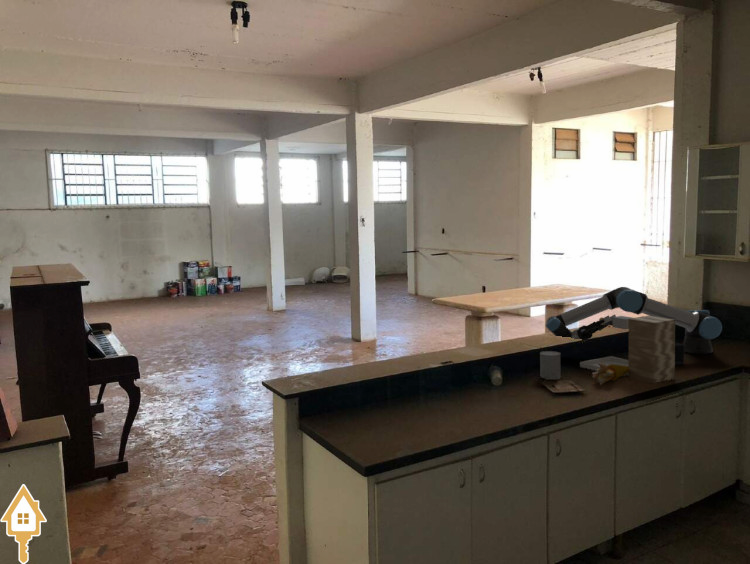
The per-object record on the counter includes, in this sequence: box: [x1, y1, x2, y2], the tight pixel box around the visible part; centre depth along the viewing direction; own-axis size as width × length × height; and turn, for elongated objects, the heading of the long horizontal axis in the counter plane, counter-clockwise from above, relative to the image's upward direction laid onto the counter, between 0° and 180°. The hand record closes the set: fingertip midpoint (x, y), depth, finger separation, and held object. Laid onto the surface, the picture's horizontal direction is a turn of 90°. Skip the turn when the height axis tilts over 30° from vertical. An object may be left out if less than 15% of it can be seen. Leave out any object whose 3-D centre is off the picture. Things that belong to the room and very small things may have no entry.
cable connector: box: [598, 315, 633, 330], centre depth 300 cm, size 6×18×5 cm, turn 26°
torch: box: [591, 362, 629, 385], centre depth 281 cm, size 8×8×25 cm
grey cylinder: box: [539, 350, 562, 380], centre depth 289 cm, size 10×10×12 cm
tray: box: [579, 355, 629, 378], centre depth 302 cm, size 22×25×2 cm
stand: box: [628, 315, 676, 384], centre depth 282 cm, size 14×14×28 cm
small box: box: [675, 341, 685, 366], centre depth 308 cm, size 11×6×10 cm, turn 179°
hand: (612, 317), depth 301 cm, fingers closed on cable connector, 3 cm apart
